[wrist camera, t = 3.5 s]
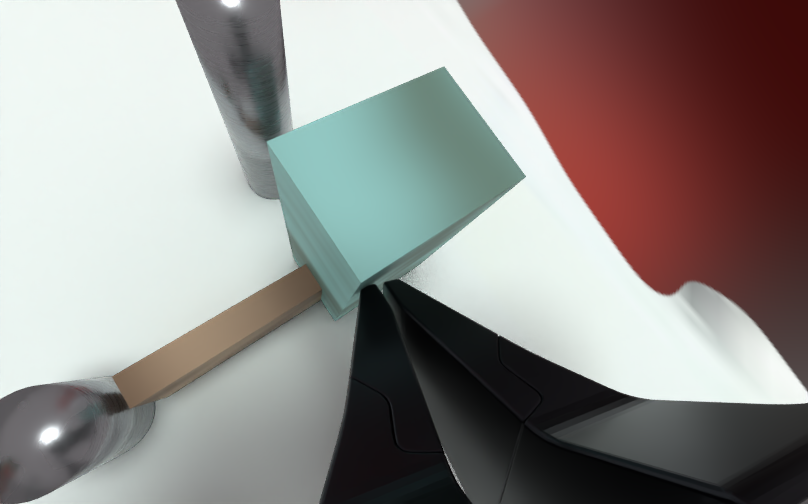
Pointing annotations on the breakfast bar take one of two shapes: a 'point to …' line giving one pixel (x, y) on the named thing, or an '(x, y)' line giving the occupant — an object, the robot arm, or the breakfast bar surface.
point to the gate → (352, 215)
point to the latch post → (245, 76)
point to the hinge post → (63, 434)
